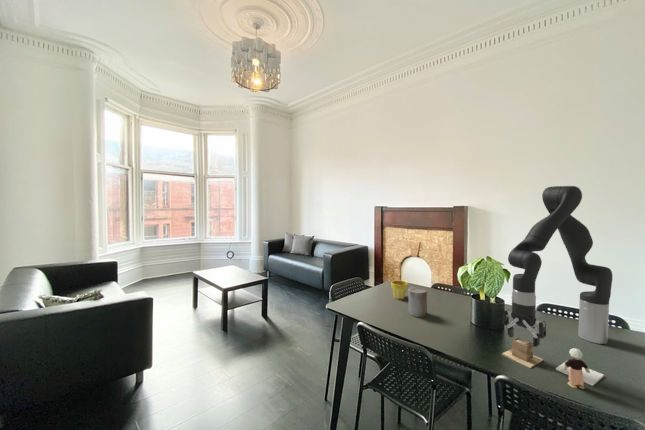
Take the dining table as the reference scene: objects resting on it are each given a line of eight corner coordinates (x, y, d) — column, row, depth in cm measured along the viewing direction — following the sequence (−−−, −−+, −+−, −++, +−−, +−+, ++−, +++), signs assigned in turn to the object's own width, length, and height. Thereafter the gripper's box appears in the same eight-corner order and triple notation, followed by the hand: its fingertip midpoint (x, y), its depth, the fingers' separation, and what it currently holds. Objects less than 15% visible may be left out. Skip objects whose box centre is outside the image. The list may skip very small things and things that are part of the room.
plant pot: (409, 296, 177) (409, 281, 176) (405, 301, 168) (405, 285, 167) (393, 293, 182) (393, 279, 182) (388, 298, 173) (388, 283, 173)
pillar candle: (424, 310, 154) (424, 284, 153) (429, 317, 144) (429, 290, 143) (406, 310, 154) (406, 284, 154) (410, 317, 145) (410, 290, 144)
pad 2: (567, 361, 104) (567, 360, 104) (603, 376, 95) (603, 374, 95) (555, 369, 99) (555, 368, 99) (592, 385, 90) (592, 384, 90)
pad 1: (514, 348, 114) (514, 346, 114) (543, 360, 105) (543, 359, 105) (501, 354, 109) (501, 353, 109) (530, 368, 100) (530, 366, 100)
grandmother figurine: (579, 381, 92) (581, 345, 92) (591, 389, 89) (593, 351, 88) (558, 382, 92) (559, 346, 92) (568, 390, 88) (570, 352, 88)
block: (518, 351, 110) (519, 337, 110) (532, 357, 106) (533, 342, 105) (512, 355, 108) (512, 340, 107) (526, 361, 103) (526, 346, 103)
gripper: (550, 305, 101) (549, 347, 102) (509, 294, 114) (508, 331, 115) (540, 309, 98) (539, 352, 99) (499, 297, 110) (498, 336, 111)
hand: (522, 341), depth 107 cm, fingers open, 8 cm apart
